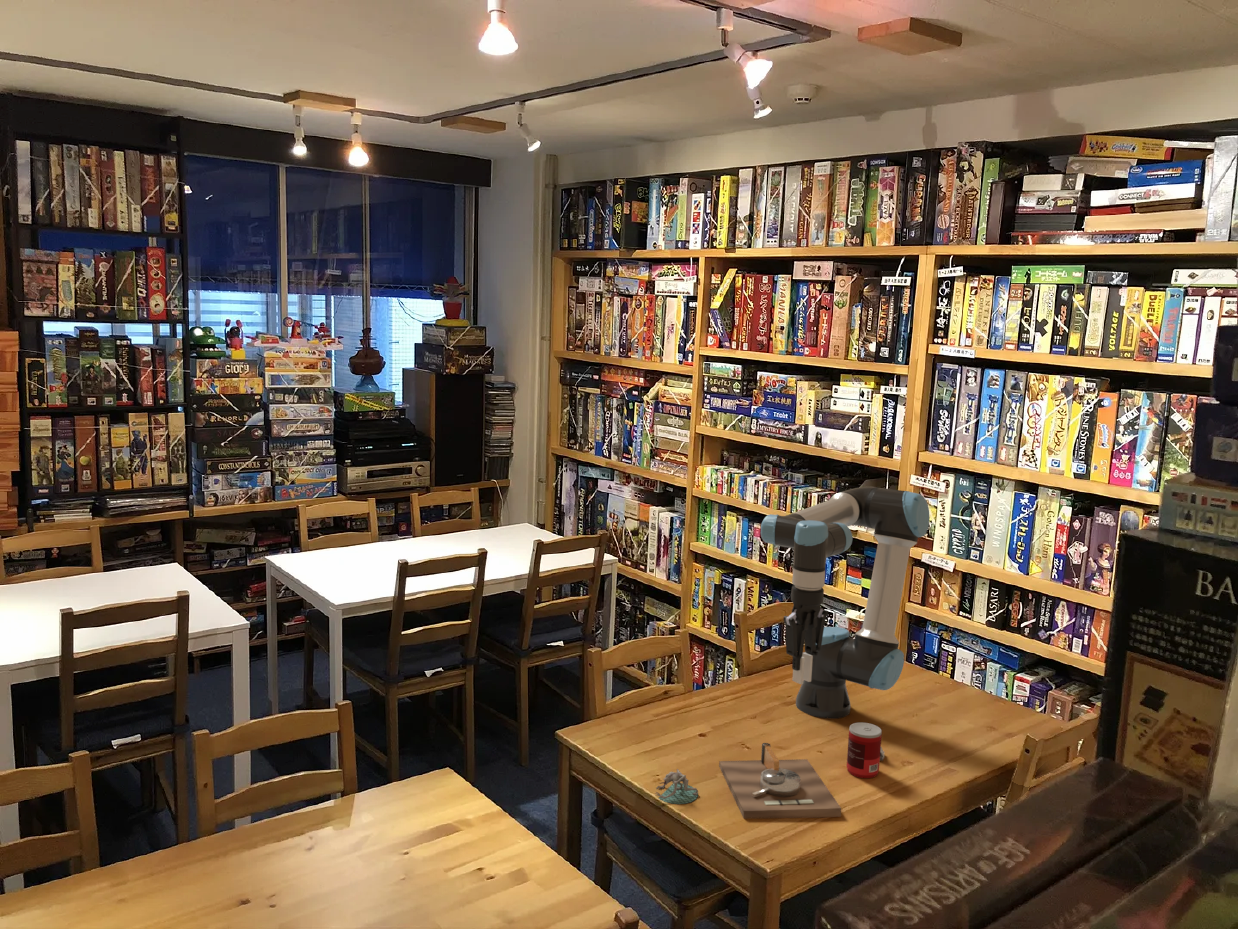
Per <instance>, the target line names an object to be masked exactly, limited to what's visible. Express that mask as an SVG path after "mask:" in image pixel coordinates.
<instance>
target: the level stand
mask: <svg viewBox="0 0 1238 929" xmlns="http://www.w3.org/2000/svg"><path fill="white" fill-rule="evenodd" d="M778 760H779V768H782V769H787V770H790V771H793V772H795V773H796V774H798V775H799V776H800V779H801V780H800V791H799V793H798V794H796V795H794V796H790V797H779V796H774V795H770V794H768V793H763V794H761V795H758V796H755V797H754V796H753V795H752V793H754V792H757V791H760V790H762V789H761V787H760V779H761V773H762V772H763V771H764V770H766V769H767V768H766V766H765V765H764V763H762V762H761V759H759V760H758V759H757V760H756V759H755V760H754V759H753V760H720V761H718V762H719V763H718V764H719V765H718V767H719V769H720V772H721V774H722V776H723V778H724V780H725V782H726V785H727V786H728V788H729V791H730V792H731V794H732V798H733V799H734V801H735V803H736V804H735V805H737V808H738V810H739V812H740V814H741V816H742V819H746V820H747V819H801V818H803V819H810V818H812V819H813V818H841V817H842V807H841V806H840V804H839V803H838V801H837V800H836V798H835V797H834V796H833V794H832V793H831V791H830V790H829V788H828V787H827V786H826V784H825V783H824V781H823V780H822V778H821V777H820V776H819V774H818V772H817V771H816V770H815V768H814V767H813V765H812V764H811V763H810V761H809V760H808V759H807V758H806V759H805V758H804V759H803V758H802V759H778Z"/></svg>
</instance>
